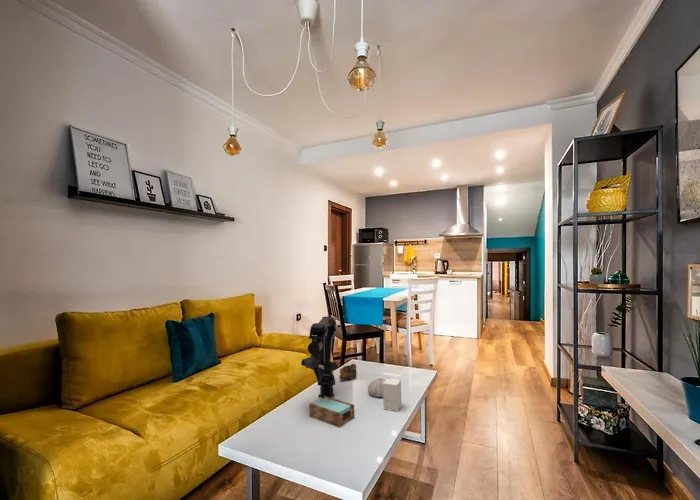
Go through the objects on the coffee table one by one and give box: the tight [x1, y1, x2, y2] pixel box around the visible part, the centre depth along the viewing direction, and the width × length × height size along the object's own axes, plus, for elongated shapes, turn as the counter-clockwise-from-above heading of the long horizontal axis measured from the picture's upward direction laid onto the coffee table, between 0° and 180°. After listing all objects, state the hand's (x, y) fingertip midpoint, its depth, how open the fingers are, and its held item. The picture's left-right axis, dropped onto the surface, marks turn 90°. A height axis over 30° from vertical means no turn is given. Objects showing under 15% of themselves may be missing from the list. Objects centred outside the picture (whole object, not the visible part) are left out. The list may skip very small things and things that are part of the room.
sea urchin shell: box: [367, 378, 386, 398], centre depth 176 cm, size 13×14×8 cm
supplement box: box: [382, 378, 402, 412], centre depth 159 cm, size 7×7×13 cm
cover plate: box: [312, 398, 351, 416], centre depth 150 cm, size 16×9×2 cm, turn 53°
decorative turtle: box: [339, 363, 358, 381], centre depth 201 cm, size 10×15×8 cm, turn 148°
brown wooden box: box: [308, 396, 355, 428], centre depth 150 cm, size 18×11×6 cm, turn 53°
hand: (319, 381), depth 159 cm, fingers closed
